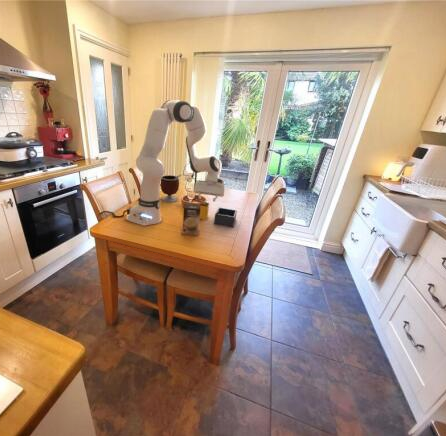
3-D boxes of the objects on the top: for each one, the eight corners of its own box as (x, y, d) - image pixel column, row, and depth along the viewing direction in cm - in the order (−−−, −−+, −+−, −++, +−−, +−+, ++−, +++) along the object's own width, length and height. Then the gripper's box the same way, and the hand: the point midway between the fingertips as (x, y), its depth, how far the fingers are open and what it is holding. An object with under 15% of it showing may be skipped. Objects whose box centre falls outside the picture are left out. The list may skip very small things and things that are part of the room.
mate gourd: (157, 200, 176) (157, 174, 167) (164, 195, 188) (164, 170, 179) (177, 203, 172) (178, 177, 164) (182, 197, 184) (183, 172, 176)
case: (213, 224, 144) (215, 213, 141) (217, 216, 154) (218, 207, 151) (232, 227, 140) (234, 217, 137) (235, 219, 150) (237, 210, 147)
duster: (199, 218, 150) (200, 204, 145) (200, 216, 154) (202, 201, 149) (206, 220, 148) (207, 205, 144) (207, 217, 152) (209, 203, 148)
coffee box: (181, 234, 130) (183, 207, 123) (182, 229, 136) (184, 203, 129) (198, 235, 129) (200, 209, 123) (198, 230, 135) (200, 204, 128)
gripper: (195, 177, 156) (190, 195, 151) (226, 181, 150) (221, 200, 145) (197, 182, 161) (192, 199, 157) (226, 186, 155) (222, 204, 151)
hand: (206, 200), depth 151 cm, fingers open, 8 cm apart
